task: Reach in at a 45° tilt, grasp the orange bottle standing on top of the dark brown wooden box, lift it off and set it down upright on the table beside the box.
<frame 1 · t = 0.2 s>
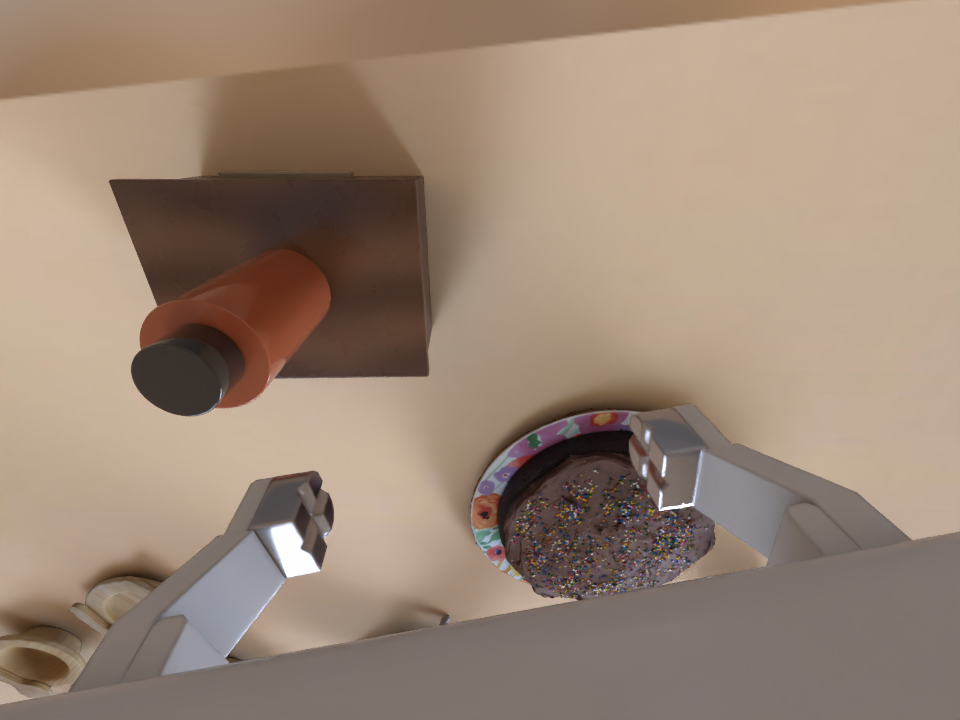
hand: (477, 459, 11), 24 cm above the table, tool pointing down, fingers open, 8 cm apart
orange bottle: (288, 290, 25), point 8 cm above the table, touching dark brown wooden box
dark brown wooden box: (327, 259, 32), on the table
chocolate cake: (592, 503, 46), on the table
tableware set: (144, 651, 57), on the table
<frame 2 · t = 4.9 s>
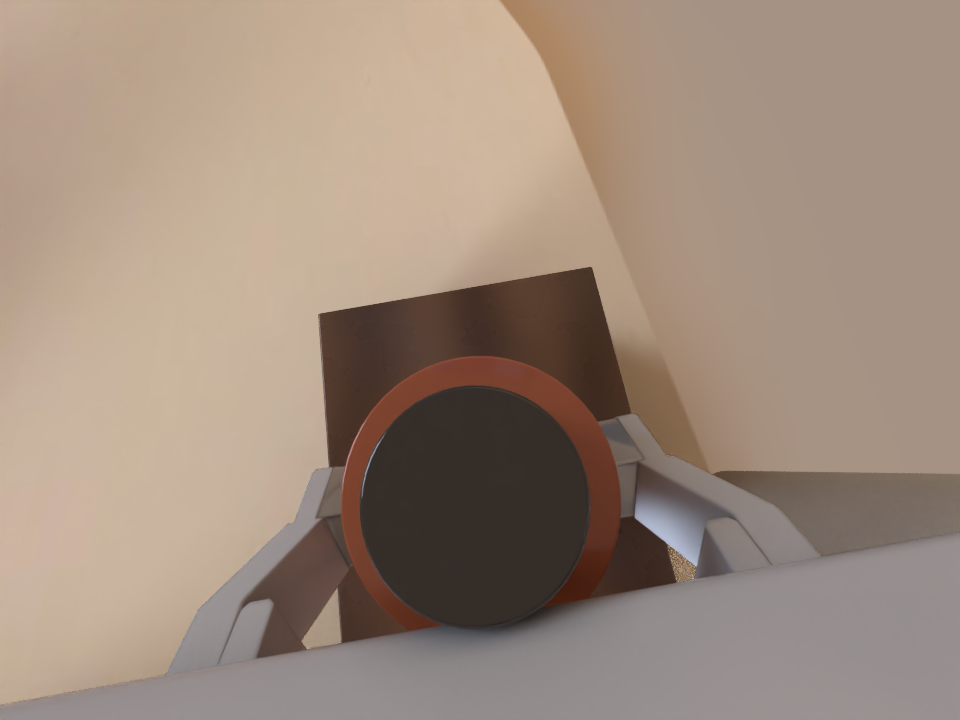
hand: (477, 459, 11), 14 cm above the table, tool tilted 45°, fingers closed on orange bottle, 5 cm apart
orange bottle: (487, 478, 16), point 8 cm above the table, touching dark brown wooden box, gripper
dark brown wooden box: (489, 474, 24), on the table
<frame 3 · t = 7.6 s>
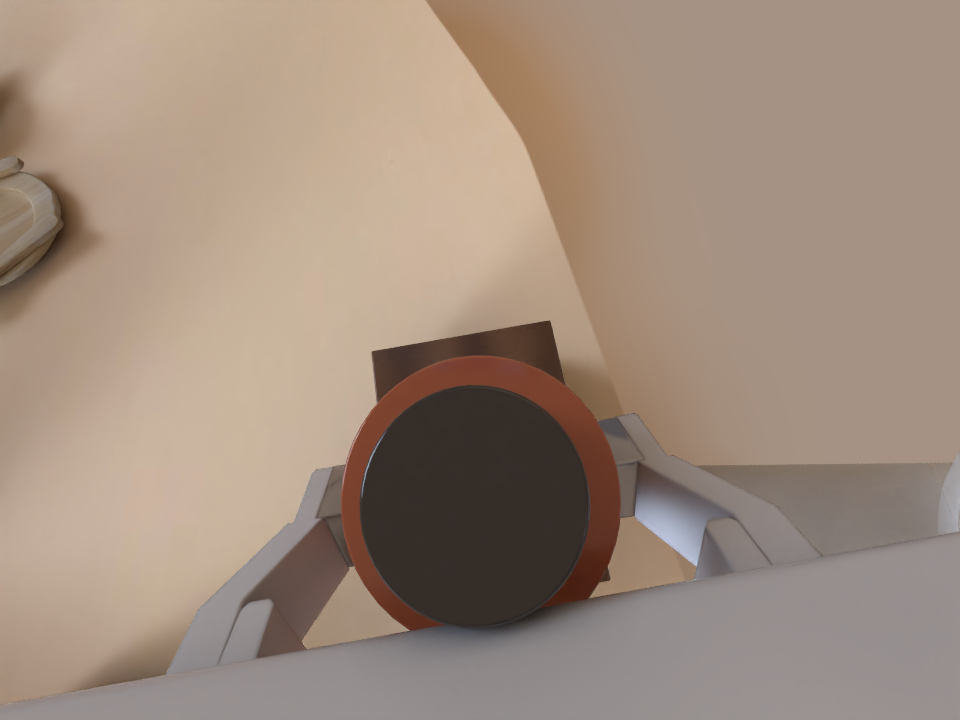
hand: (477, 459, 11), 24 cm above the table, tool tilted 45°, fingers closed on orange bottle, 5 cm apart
orange bottle: (487, 477, 16), point 18 cm above the table, touching gripper
dark brown wooden box: (484, 459, 34), on the table
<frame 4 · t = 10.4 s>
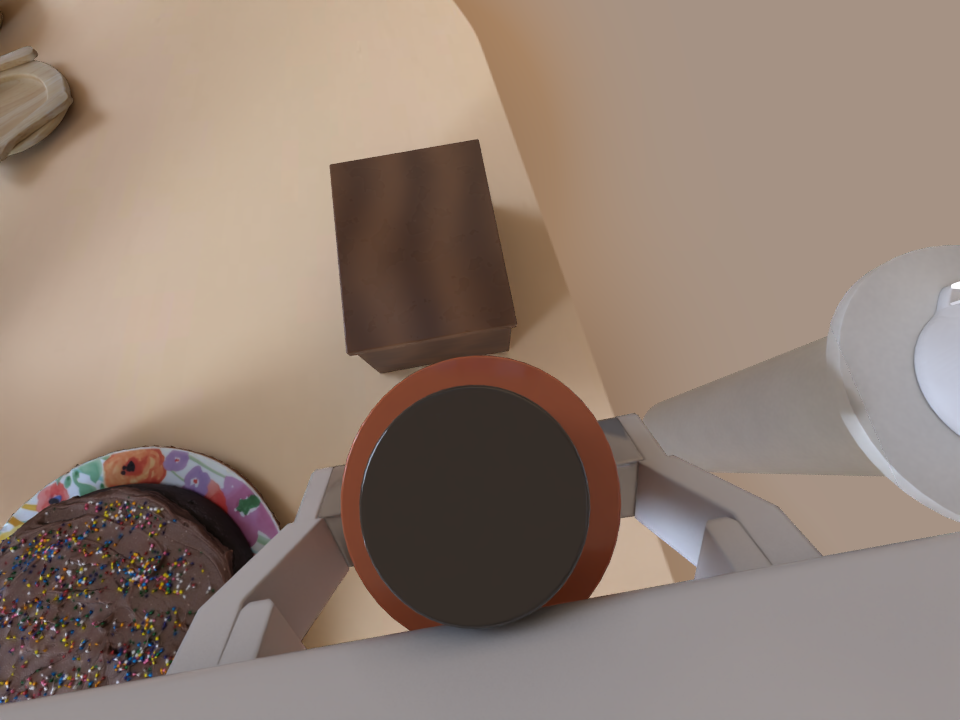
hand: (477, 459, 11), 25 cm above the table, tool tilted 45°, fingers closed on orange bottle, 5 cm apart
orange bottle: (487, 477, 16), point 19 cm above the table, touching gripper
dark brown wooden box: (432, 283, 39), on the table
chocolate cake: (134, 623, 33), on the table
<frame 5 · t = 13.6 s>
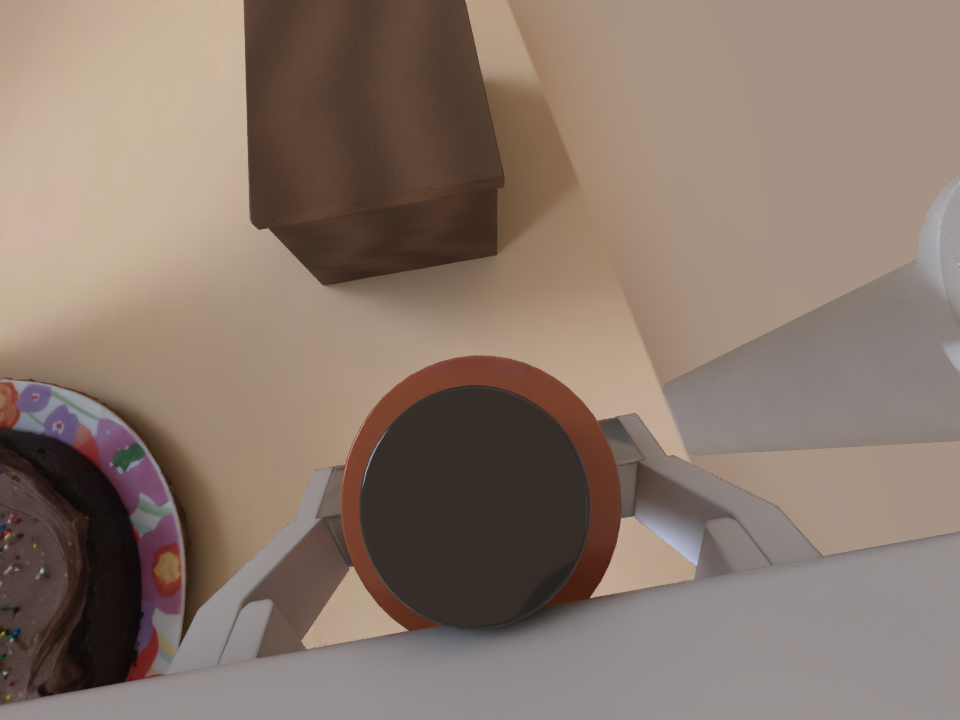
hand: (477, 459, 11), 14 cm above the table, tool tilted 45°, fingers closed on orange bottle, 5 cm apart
orange bottle: (487, 478, 16), point 8 cm above the table, touching gripper
dark brown wooden box: (396, 172, 30), on the table
when the fingers open (6 cm above the table, at t = 16.3 s): orange bottle stays where it is, on the table.
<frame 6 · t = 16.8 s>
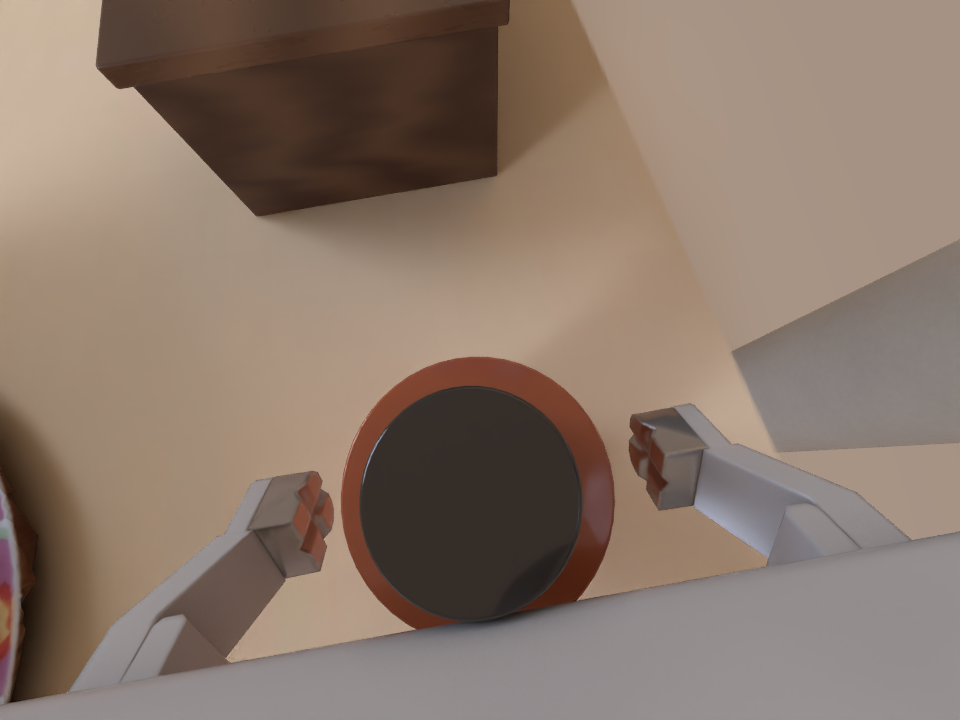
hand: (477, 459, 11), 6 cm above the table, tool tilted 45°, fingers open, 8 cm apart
orange bottle: (486, 477, 16), on the table
dark brown wooden box: (362, 71, 22), on the table
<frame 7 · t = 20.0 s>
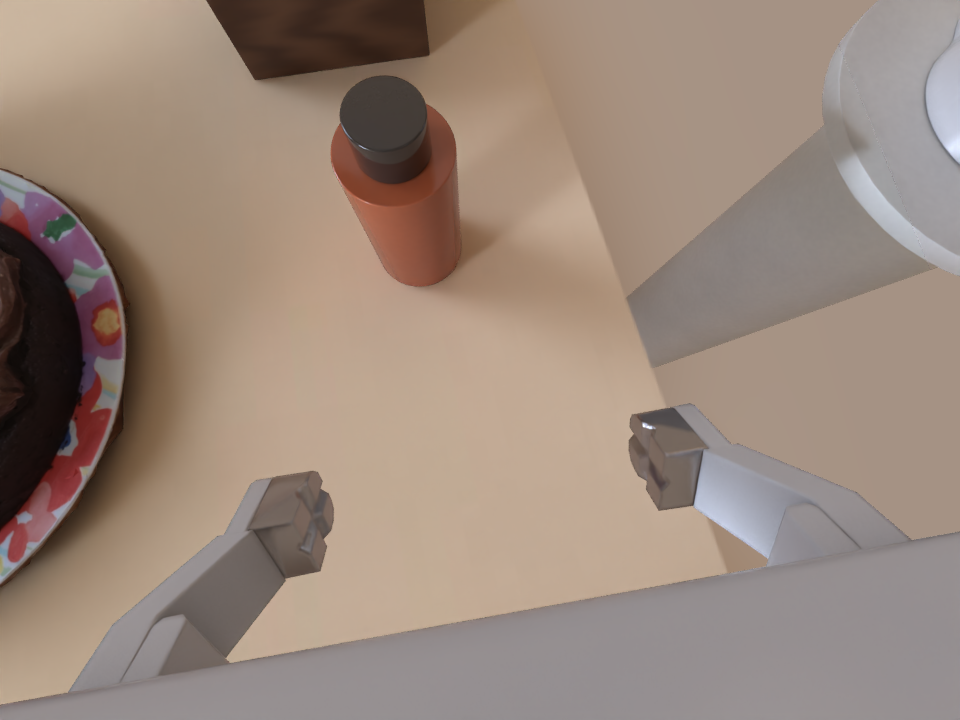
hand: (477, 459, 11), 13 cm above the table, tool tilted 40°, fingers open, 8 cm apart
orange bottle: (420, 247, 26), on the table
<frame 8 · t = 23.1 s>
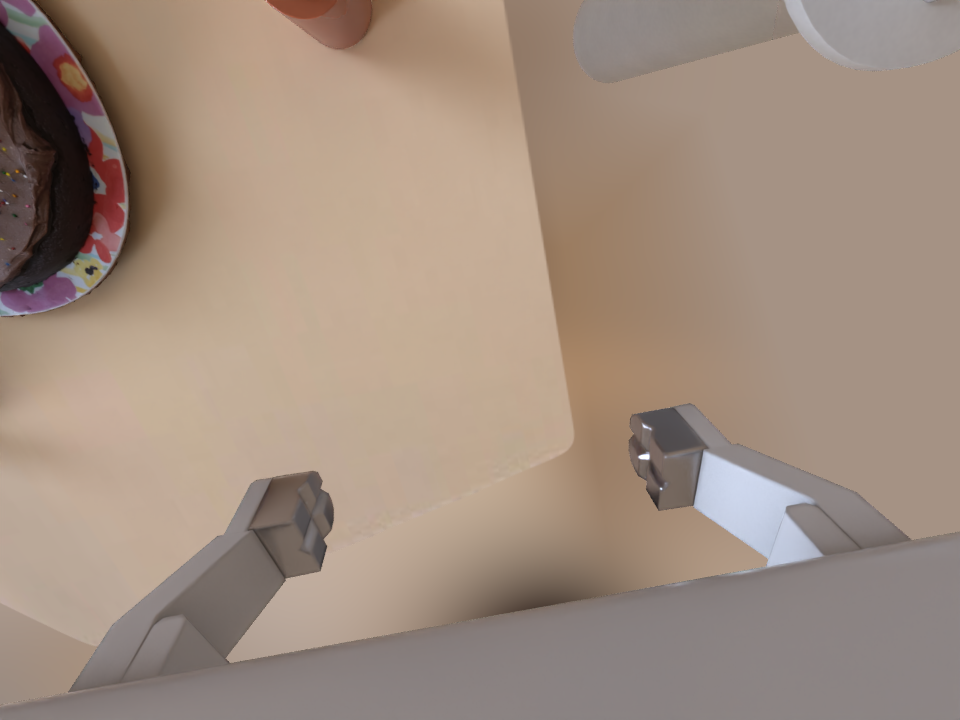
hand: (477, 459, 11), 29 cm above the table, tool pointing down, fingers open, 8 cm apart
orange bottle: (333, 1, 28), on the table
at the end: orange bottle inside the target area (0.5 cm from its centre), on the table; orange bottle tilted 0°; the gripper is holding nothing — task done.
